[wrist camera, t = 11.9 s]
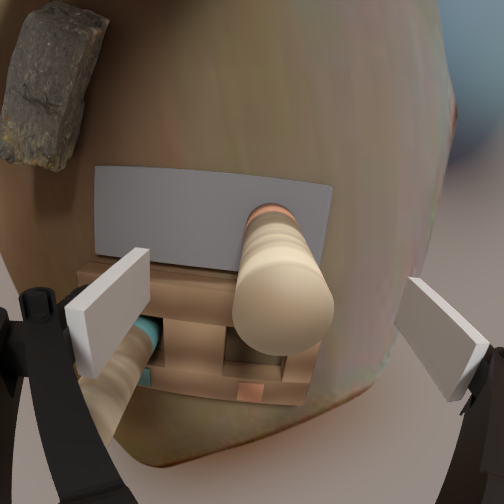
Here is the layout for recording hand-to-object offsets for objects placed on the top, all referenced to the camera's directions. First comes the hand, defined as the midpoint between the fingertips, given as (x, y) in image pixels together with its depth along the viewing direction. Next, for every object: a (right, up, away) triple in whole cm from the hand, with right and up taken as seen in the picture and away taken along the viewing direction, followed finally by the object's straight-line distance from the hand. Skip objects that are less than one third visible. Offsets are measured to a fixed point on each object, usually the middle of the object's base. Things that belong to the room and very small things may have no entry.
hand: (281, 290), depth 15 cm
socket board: (-6, -6, +14) cm, 17 cm away
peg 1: (-12, -5, +14) cm, 19 cm away
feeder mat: (-5, +4, +11) cm, 13 cm away
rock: (-18, +18, +7) cm, 26 cm away
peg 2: (0, +4, +10) cm, 11 cm away
